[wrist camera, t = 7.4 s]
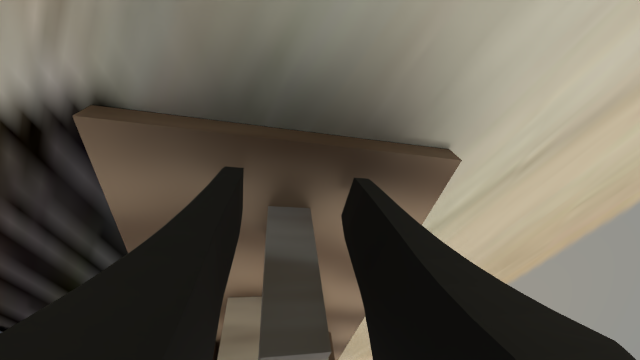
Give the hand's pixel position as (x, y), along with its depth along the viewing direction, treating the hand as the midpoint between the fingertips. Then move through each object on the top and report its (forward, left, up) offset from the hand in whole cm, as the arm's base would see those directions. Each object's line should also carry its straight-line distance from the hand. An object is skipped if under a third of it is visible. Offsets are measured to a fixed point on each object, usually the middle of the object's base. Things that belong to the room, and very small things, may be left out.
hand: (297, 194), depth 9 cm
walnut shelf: (+10, -7, -2) cm, 13 cm away
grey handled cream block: (+7, -5, -1) cm, 9 cm away
